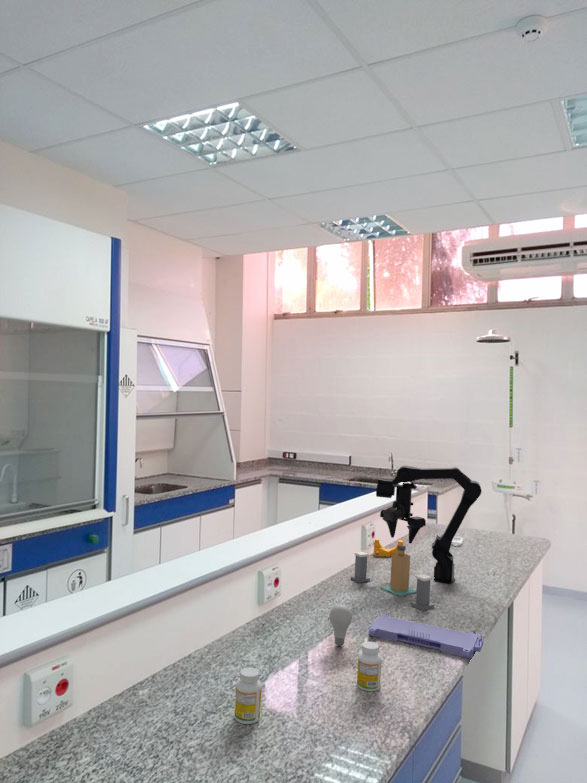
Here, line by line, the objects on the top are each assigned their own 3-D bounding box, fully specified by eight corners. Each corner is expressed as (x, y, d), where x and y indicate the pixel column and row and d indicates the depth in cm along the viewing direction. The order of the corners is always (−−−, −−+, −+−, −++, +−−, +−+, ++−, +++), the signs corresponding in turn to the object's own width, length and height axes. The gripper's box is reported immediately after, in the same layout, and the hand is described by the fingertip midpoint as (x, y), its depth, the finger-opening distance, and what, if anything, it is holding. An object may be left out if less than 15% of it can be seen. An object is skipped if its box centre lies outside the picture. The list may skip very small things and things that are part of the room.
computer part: (476, 664, 155) (484, 643, 168) (477, 648, 155) (485, 628, 168) (366, 638, 168) (381, 621, 181) (366, 623, 168) (382, 607, 181)
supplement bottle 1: (247, 728, 121) (249, 680, 121) (229, 717, 124) (231, 671, 124) (265, 717, 125) (267, 672, 125) (247, 707, 128) (249, 663, 128)
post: (421, 602, 198) (423, 573, 198) (433, 607, 194) (435, 577, 193) (411, 605, 195) (412, 575, 195) (423, 610, 191) (424, 579, 191)
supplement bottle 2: (365, 678, 144) (366, 638, 144) (384, 686, 140) (386, 645, 140) (352, 686, 140) (354, 644, 140) (372, 694, 136) (374, 652, 136)
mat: (399, 584, 215) (399, 583, 215) (417, 592, 208) (417, 591, 208) (380, 588, 210) (381, 587, 210) (399, 596, 203) (399, 595, 203)
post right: (360, 577, 222) (362, 550, 222) (370, 580, 218) (371, 554, 218) (350, 579, 219) (351, 552, 219) (359, 583, 215) (361, 555, 215)
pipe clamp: (374, 556, 251) (374, 541, 251) (373, 553, 256) (374, 538, 256) (402, 558, 250) (403, 543, 250) (401, 555, 255) (402, 540, 255)
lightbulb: (353, 643, 163) (354, 603, 163) (347, 652, 157) (349, 611, 157) (331, 639, 165) (333, 599, 165) (325, 648, 159) (327, 607, 159)
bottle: (399, 586, 212) (401, 544, 212) (408, 590, 208) (410, 547, 208) (390, 588, 210) (392, 545, 210) (399, 592, 206) (401, 548, 206)
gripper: (370, 496, 230) (368, 536, 230) (406, 505, 215) (404, 549, 215) (391, 494, 236) (389, 533, 236) (427, 503, 221) (425, 545, 221)
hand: (401, 540), depth 227 cm, fingers open, 9 cm apart
